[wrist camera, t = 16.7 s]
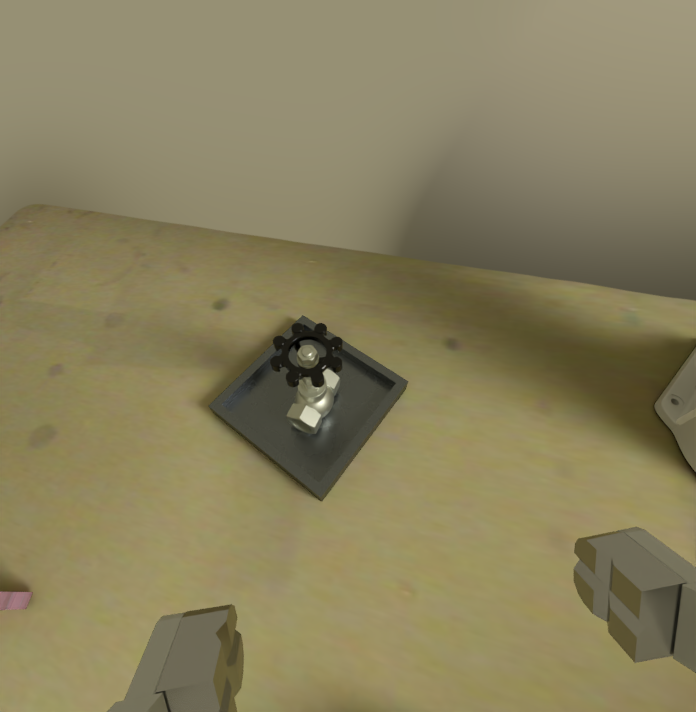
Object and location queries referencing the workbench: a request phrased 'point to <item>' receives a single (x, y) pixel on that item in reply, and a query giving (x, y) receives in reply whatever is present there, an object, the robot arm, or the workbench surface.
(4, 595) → the decorative key
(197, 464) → the workbench surface
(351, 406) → the dark gray tray
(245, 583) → the workbench surface
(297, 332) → the valve
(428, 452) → the workbench surface
